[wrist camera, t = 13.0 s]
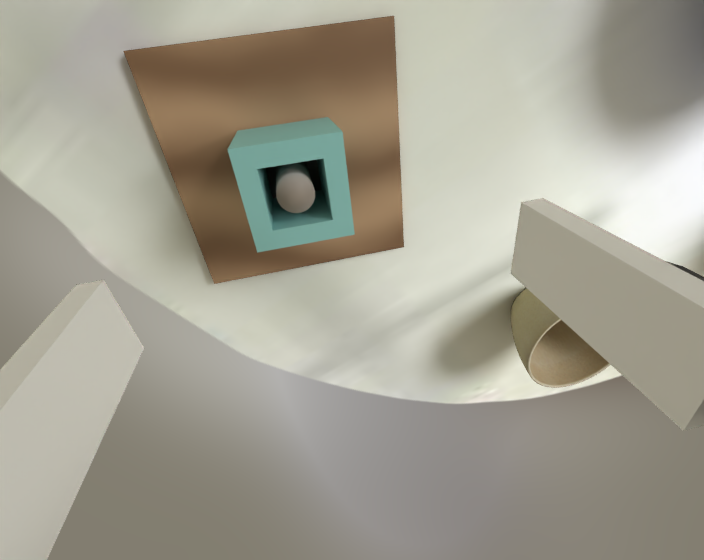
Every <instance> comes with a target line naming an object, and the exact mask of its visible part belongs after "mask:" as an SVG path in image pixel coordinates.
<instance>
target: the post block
mask: <svg viewBox="0 0 704 560" xmlns="http://www.w3.org/2000/svg"><path fill="white" fill-rule="evenodd" d="M124 54H125V56H126V59H127V61H128V64H129V67H130V69H131V72H132V74H133V77H134V79H135V82H136V84H137V87H138V90H139V92H140V95H141V97H142V100H143V102H144V105H145V107H146V110H147V113H148V115H149V118H150V120H151V123H152V125H153V128H154V131H155V133H156V136H157V138H158V141H159V143H160V146H161V148H162V151H163V154H164V156H165V159H166V161H167V164H168V166H169V169H170V171H171V174H172V177H173V179H174V182H175V184H176V187H177V189H178V192H179V195H180V197H181V200H182V202H183V205H184V207H185V210H186V212H187V215H188V218H189V220H190V223H191V225H192V228H193V230H194V233H195V235H196V238H197V241H198V243H199V246H200V248H201V251H202V253H203V256H204V259H205V261H206V264H207V266H208V269H209V271H210V274H211V276H212V279H213V282H214V284H216V283H221V282H226V281H231V280H236V279H242V278H247V277H252V276H257V275H262V274H267V273H272V272H278V271H283V270H288V269H293V268H298V267H303V266H308V265H314V264H319V263H324V262H329V261H334V260H339V259H344V258H350V257H355V256H360V255H365V254H370V253H375V252H380V251H386V250H391V249H396V248H401V247H404V240H403V216H402V193H401V169H400V146H399V122H398V98H397V75H396V51H395V27H394V16H389V17H381V18H374V19H366V20H358V21H351V22H343V23H335V24H328V25H320V26H312V27H304V28H297V29H289V30H281V31H274V32H266V33H258V34H251V35H243V36H235V37H228V38H220V39H212V40H205V41H197V42H189V43H182V44H174V45H166V46H159V47H151V48H143V49H136V50H128V51H124ZM325 117H329V118H330V119H331V120H332V121H333V122H334V123H335V124H336V125H337V126H338V127H339V128H340V130H341V131H342V132H343V140H344V148H345V157H346V165H347V173H348V182H349V190H350V199H351V207H352V216H353V224H354V232H355V235H350V236H345V237H339V238H334V239H328V240H323V241H317V242H312V243H307V244H301V245H296V246H290V247H285V248H279V249H274V250H269V251H263V252H258V253H257V250H256V246H255V243H254V239H253V236H252V232H251V229H250V225H249V222H248V219H247V215H246V212H245V208H244V205H243V201H242V198H241V194H240V191H239V188H238V184H237V181H236V177H235V174H234V170H233V167H232V163H231V160H230V157H229V153H228V150H227V149H228V147H229V146H230V144H231V142H232V140H233V138H234V136H235V134H236V133H237V131H238V130H245V129H251V128H258V127H265V126H271V125H278V124H285V123H291V122H298V121H305V120H311V119H318V118H325ZM266 171H267V175H268V180H269V184H270V188H271V192H272V196H273V198H277V201H278V203H279V204H280V206H281V207H282V208H283V209H285V210H286V211H288V212H291V213H301V212H304V211H306V210H308V209H309V208H310V207H311V206H312V204H313V202H314V200H315V191H318V190H322V189H321V183H320V177H319V170H318V164H317V160H311V161H304V162H298V163H292V164H286V165H280V166H274V167H267V168H266Z"/></svg>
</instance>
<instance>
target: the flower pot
mask: <svg viewBox="0 0 704 560" xmlns="http://www.w3.org/2000/svg"><path fill="white" fill-rule="evenodd" d="M511 326H512V332H513V337H514V341H515V345H516V348H517V351H518V353H519V356H520V358H521V360H522V362H523V364H524V366H525V368H526V370H527V372H528V373H529V375H530V376H531V378H532V379H533V380H534V381H535V382H536V383H538V384H540V385H542V386H546V387H553V388H555V387H556V388H557V387H566V386H570V385H574V384H577V383H580V382H583V381H585V380H587V379H589V378H591V377H593V376H595V375H597V374H598V373H600V372H601V371H603V370H604V369H606V368H607V367H608V366H610V365H611V364H610V363H609V362H607V361H606V360H605V359H604V358H603V357H602V356H601V355H600V354H599V353H598V352H596V351H595V350H594V349H593V348H592V347H591V346H590V345H589V344H588V343H587V342H585V341H584V340H583V339H582V338H581V337H580V336H579V335H578V334H577V333H576V332H574V331H573V330H572V329H571V328H570V327H569V326H568V325H567V324H566V323H565V322H563V321H562V320H561V319H560V318H559V317H558V316H557V315H556V314H555V313H554V312H552V311H551V310H550V309H549V308H548V307H547V306H546V305H545V304H544V303H543V302H541V301H540V300H539V299H538V298H537V297H536V296H535V295H534V294H533V293H532V292H530V291H529V290H528V289H527V288H526V289H525V290H524V291H522V292H521V293H520V294H519V295H518V296H517V298H516V299H515V300H514V302H513V305H512V309H511Z"/></svg>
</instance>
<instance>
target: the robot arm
mask: <svg viewBox="0 0 704 560" xmlns="http://www.w3.org/2000/svg"><path fill="white" fill-rule="evenodd" d="M511 274H512V275H513V276H514V277H515V278H516V279H517V280H518V281H519V282H521V283H522V284H523V285H524V286H525V287H526V288H527V289H528V290H529V291H530V292H532V293H533V294H534V295H535V296H536V297H537V298H538V299H539V300H540V301H541V302H543V303H544V304H545V305H546V306H547V307H548V308H549V309H550V310H551V311H552V312H554V313H555V314H556V315H557V316H558V317H559V318H560V319H561V320H562V321H563V322H565V323H566V324H567V325H568V326H569V327H570V328H571V329H572V330H573V331H574V332H576V333H577V334H578V335H579V336H580V337H581V338H582V339H583V340H584V341H585V342H587V343H588V344H589V345H590V346H591V347H592V348H593V349H594V350H595V351H596V352H598V353H599V354H600V355H601V356H602V357H603V358H604V359H605V360H606V361H607V362H609V363H610V364H611V365H612V366H613V367H614V368H615V369H616V370H617V371H618V372H620V373H621V374H622V375H623V376H624V377H625V378H626V379H627V380H628V381H629V382H630V383H632V384H633V385H634V386H635V387H636V388H637V389H638V390H640V392H641V393H643V394H644V395H645V396H646V397H647V398H648V399H649V400H650V401H651V402H652V403H654V404H655V405H656V406H657V407H658V408H659V409H660V410H661V411H662V412H663V413H665V414H666V415H667V416H668V417H669V418H670V419H672V421H674V422H675V423H676V424H677V425H678V426H679V427H680V428H681V429H682V430H683V431H684V430H688V429H692V428H696V427H700V426H704V277H702V276H701V275H699V274H697V273H695V272H693V271H691V270H689V269H687V268H685V267H683V266H679V265H676V264H673V263H670V262H666V261H664V260H662V259H660V258H658V257H656V256H654V255H652V254H650V253H648V252H646V251H644V250H642V249H640V248H639V247H637V246H635V245H633V244H631V243H629V242H627V241H625V240H623V239H621V238H619V237H617V236H615V235H613V234H611V233H609V232H608V231H606V230H604V229H602V228H600V227H598V226H596V225H594V224H592V223H590V222H588V221H586V220H584V219H582V218H580V217H579V216H577V215H575V214H573V213H571V212H569V211H567V210H565V209H563V208H561V207H559V206H557V205H555V204H553V203H551V202H549V201H548V200H546V199H544V198H542V199H536V200H531V201H525V202H521V208H520V214H519V221H518V228H517V234H516V241H515V248H514V254H513V261H512V268H511ZM143 349H144V347H143V346H142V344H141V342H140V340H139V339H138V337H137V335H136V334H135V332H134V330H133V329H132V327H131V325H130V323H129V322H128V320H127V318H126V317H125V315H124V313H123V312H122V310H121V308H120V307H119V305H118V303H117V302H116V300H115V298H114V296H113V295H112V293H111V291H110V290H109V288H108V286H107V285H106V283H105V281H104V280H99V281H94V282H88V283H83V284H78V285H76V286H75V287H74V288H73V289H72V290H71V291H70V292H69V293H68V295H67V296H66V297H65V298H64V299H63V300H62V301H61V302H60V303H59V305H58V306H57V307H56V308H55V309H54V310H53V311H52V313H51V314H50V315H49V316H48V317H47V318H46V319H45V320H44V321H43V323H42V324H41V325H40V326H39V327H38V328H37V329H36V330H35V331H34V333H33V334H32V335H31V336H30V337H29V338H28V339H27V341H26V342H25V343H24V344H23V345H22V346H21V347H20V348H19V349H18V351H17V352H16V353H15V354H14V355H13V356H12V357H11V358H10V360H9V361H8V362H7V363H6V364H5V365H4V366H3V367H2V369H1V370H0V560H47V558H48V556H49V554H50V551H51V549H52V547H53V545H54V542H55V540H56V538H57V536H58V534H59V532H60V530H61V527H62V525H63V523H64V521H65V519H66V517H67V514H68V512H69V510H70V508H71V506H72V503H73V501H74V499H75V497H76V495H77V493H78V490H79V488H80V486H81V484H82V482H83V480H84V477H85V475H86V473H87V471H88V469H89V467H90V465H91V462H92V460H93V458H94V456H95V454H96V451H97V449H98V447H99V445H100V443H101V440H102V438H103V436H104V434H105V432H106V430H107V428H108V425H109V423H110V421H111V419H112V417H113V415H114V412H115V410H116V408H117V406H118V403H119V401H120V399H121V397H122V395H123V393H124V391H125V389H126V386H127V384H128V382H129V380H130V378H131V375H132V373H133V371H134V369H135V367H136V365H137V362H138V360H139V358H140V356H141V354H142V352H143Z"/></svg>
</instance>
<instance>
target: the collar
mask: <svg viewBox="0 0 704 560" xmlns="http://www.w3.org/2000/svg"><path fill="white" fill-rule="evenodd" d="M227 150H228V153H229V157H230V160H231V163H232V167H233V170H234V174H235V177H236V181H237V184H238V188H239V191H240V194H241V198H242V201H243V205H244V208H245V212H246V215H247V219H248V222H249V225H250V229H251V232H252V236H253V239H254V243H255V246H256V250H257V253H258V252H263V251H269V250H274V249H279V248H285V247H290V246H296V245H301V244H307V243H312V242H317V241H323V240H328V239H334V238H339V237H345V236H350V235H355V232H354V224H353V216H352V207H351V199H350V190H349V182H348V173H347V165H346V157H345V148H344V140H343V132H342V131H341V130H340V128H339V127H338V126H337V125H336V124H335V123H334V122H333V121H332V120H331V119H330V118H329V117H325V118H318V119H311V120H305V121H298V122H291V123H285V124H278V125H271V126H265V127H258V128H251V129H245V130H238V131H237V133H236V134H235V136H234V138H233V140H232V142H231V144H230V146H229V147H228V149H227ZM311 160H317V164H318V170H319V177H320V183H321V189H322V190H318V191H315V200H314V202H313V204H312V206H311V207H310V208H309V209H308V210H306V211H304V212H301V213H291V212H288V211H286V210H285V209H283V208H282V207H281V206H280V204H279V203H278V201H277V198H273V196H272V192H271V188H270V184H269V180H268V175H267V171H266V168H267V167H274V166H280V165H286V164H292V163H298V162H304V161H311Z"/></svg>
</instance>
